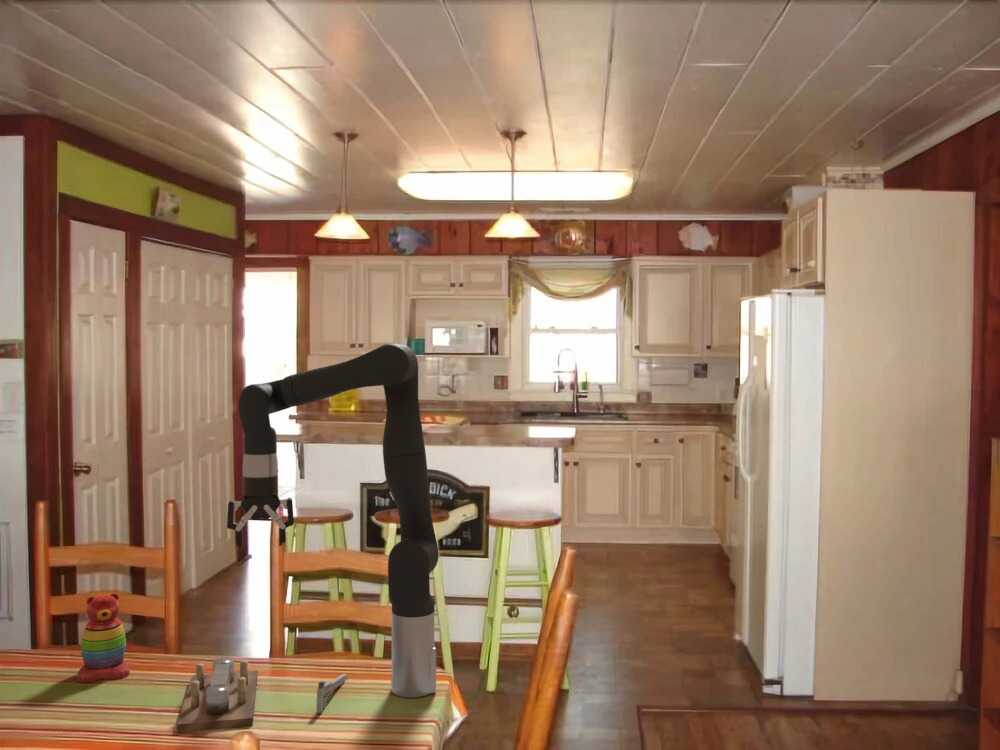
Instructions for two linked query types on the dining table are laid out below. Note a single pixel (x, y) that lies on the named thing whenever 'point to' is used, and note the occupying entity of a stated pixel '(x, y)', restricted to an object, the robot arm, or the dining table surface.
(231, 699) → the board
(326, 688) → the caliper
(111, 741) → the dining table surface
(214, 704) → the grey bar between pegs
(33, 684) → the dining table surface
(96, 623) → the stacking bear
